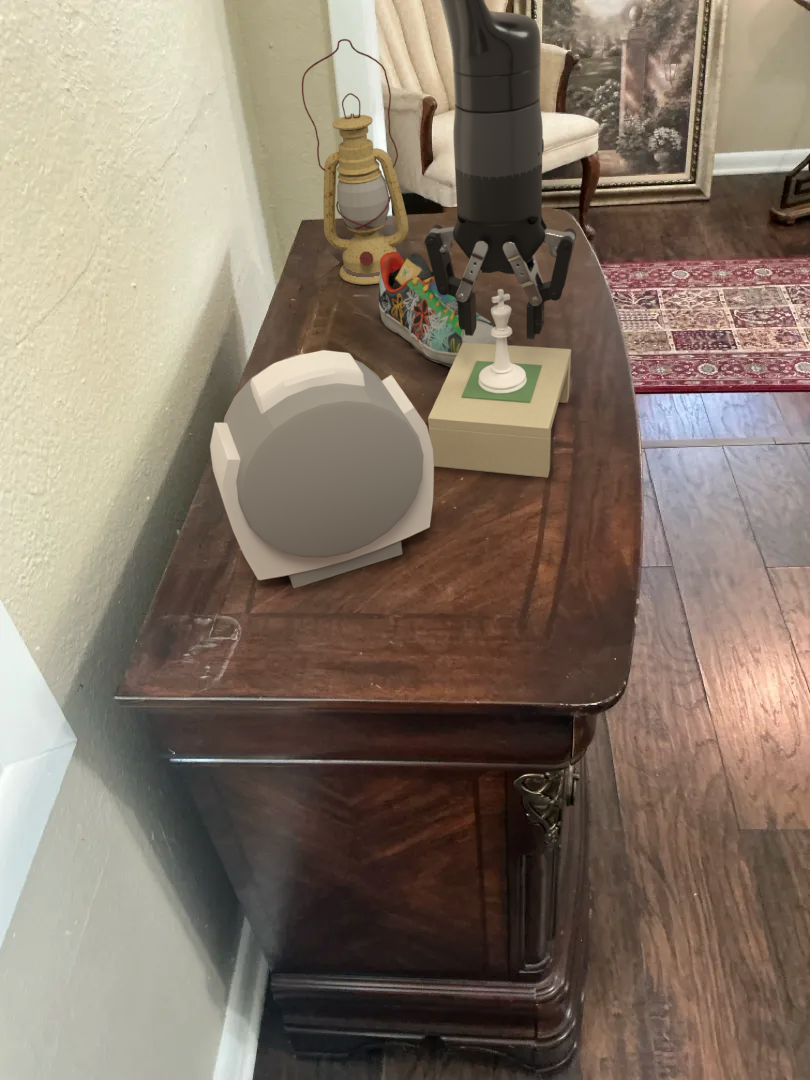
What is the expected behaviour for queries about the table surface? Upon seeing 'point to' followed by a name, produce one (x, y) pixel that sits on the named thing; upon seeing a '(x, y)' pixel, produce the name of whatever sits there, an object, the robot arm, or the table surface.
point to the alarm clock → (322, 468)
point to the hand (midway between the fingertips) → (501, 333)
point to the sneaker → (424, 310)
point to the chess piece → (502, 354)
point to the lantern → (361, 193)
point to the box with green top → (499, 412)
